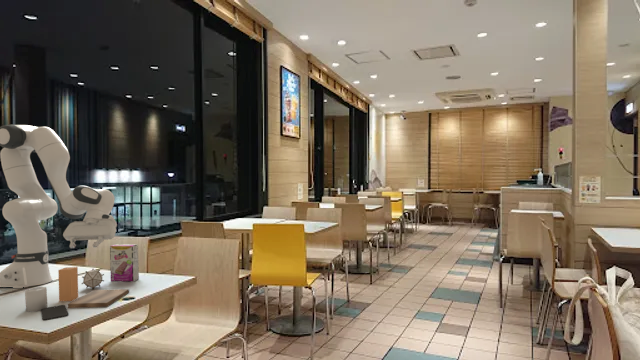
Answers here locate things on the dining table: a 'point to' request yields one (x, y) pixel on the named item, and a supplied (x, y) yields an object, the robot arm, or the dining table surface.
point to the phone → (54, 312)
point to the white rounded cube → (36, 299)
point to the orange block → (68, 283)
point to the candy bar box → (124, 262)
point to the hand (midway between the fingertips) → (83, 246)
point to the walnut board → (98, 298)
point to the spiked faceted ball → (92, 278)
